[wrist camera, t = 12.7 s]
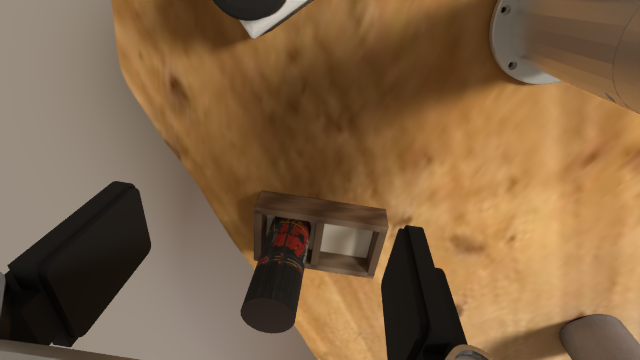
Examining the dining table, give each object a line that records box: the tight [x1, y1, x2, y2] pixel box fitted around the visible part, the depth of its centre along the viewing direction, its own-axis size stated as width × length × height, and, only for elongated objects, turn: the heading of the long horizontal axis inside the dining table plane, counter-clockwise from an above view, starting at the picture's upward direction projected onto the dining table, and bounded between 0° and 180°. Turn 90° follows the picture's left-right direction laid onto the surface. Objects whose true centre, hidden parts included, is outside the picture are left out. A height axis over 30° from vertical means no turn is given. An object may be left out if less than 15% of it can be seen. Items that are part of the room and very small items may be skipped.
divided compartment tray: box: [254, 191, 389, 279], centre depth 46 cm, size 18×10×4 cm, turn 83°
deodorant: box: [241, 216, 311, 333], centre depth 40 cm, size 6×6×15 cm
